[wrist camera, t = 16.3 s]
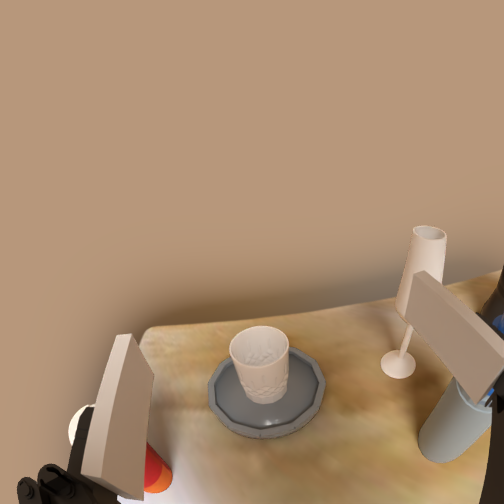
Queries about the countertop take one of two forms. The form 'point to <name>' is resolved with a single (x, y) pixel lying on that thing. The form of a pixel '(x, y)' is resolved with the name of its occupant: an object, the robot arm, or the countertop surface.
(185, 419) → the countertop surface
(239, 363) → the white cup
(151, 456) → the coffee cup
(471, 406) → the spray bottle
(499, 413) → the robot arm
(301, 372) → the plate
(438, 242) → the champagne flute
